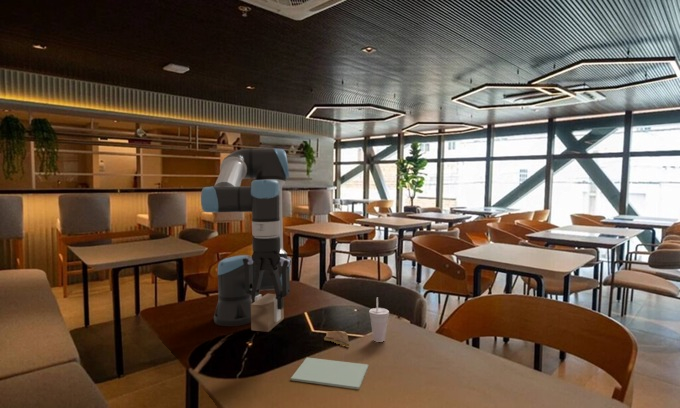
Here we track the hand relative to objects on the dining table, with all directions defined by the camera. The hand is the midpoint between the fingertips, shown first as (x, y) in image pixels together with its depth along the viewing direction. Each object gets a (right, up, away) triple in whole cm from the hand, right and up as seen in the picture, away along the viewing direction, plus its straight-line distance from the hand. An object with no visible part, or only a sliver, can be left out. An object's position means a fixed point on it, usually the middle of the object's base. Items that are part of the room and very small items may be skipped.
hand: (268, 319), depth 107 cm
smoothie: (+32, -12, +17) cm, 38 cm away
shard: (+20, -13, +18) cm, 30 cm away
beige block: (0, -1, 0) cm, 1 cm away
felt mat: (+18, -13, -4) cm, 22 cm away
